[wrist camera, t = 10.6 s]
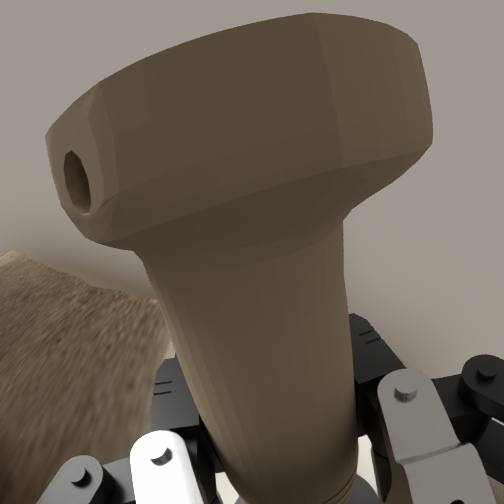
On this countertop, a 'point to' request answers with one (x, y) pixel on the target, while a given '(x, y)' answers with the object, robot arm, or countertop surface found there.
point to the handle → (252, 221)
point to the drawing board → (364, 488)
